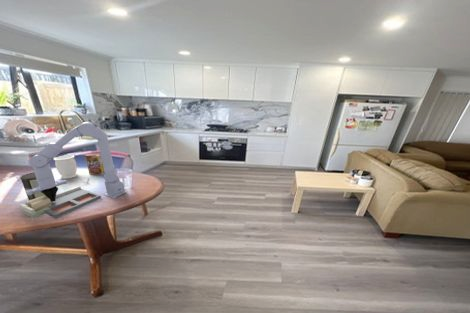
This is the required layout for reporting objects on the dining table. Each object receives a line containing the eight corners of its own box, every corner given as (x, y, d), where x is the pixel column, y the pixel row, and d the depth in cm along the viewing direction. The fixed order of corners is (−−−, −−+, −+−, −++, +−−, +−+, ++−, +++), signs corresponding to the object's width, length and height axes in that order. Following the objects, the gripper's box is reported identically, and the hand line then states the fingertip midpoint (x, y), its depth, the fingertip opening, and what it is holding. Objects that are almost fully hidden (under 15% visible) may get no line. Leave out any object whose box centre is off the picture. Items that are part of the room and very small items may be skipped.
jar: (71, 173, 128) (66, 154, 124) (82, 174, 127) (78, 155, 123) (55, 178, 118) (48, 158, 114) (67, 180, 117) (62, 160, 113)
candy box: (88, 174, 127) (84, 155, 123) (92, 172, 131) (88, 153, 127) (101, 174, 128) (97, 155, 124) (105, 172, 132) (101, 153, 128)
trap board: (101, 198, 98) (99, 191, 97) (44, 223, 76) (41, 215, 75) (80, 191, 104) (78, 184, 103) (23, 212, 83) (19, 204, 82)
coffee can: (23, 203, 90) (14, 179, 86) (35, 194, 99) (28, 172, 95) (49, 200, 94) (41, 177, 90) (59, 191, 103) (52, 170, 99)
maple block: (51, 205, 86) (49, 198, 85) (35, 211, 81) (32, 204, 80) (45, 202, 88) (43, 195, 87) (28, 208, 83) (26, 201, 82)
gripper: (59, 171, 92) (65, 192, 96) (19, 181, 79) (28, 206, 84) (66, 173, 90) (73, 195, 94) (27, 184, 77) (36, 209, 81)
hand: (52, 200), depth 89 cm, fingers closed
